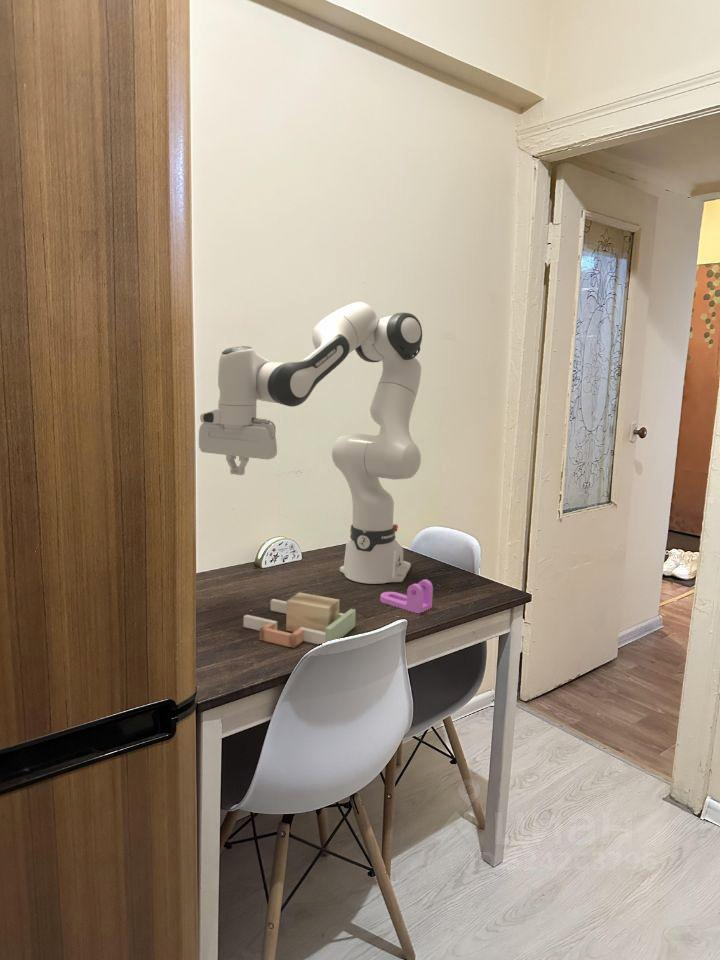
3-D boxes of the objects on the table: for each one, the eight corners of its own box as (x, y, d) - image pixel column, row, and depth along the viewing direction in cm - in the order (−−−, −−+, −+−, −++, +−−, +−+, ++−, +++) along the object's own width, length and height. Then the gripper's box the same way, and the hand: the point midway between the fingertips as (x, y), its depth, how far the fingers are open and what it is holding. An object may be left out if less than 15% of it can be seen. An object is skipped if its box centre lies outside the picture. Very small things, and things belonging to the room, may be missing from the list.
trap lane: (281, 603, 166) (282, 587, 165) (362, 620, 157) (363, 604, 156) (232, 633, 148) (232, 615, 147) (320, 654, 139) (321, 636, 138)
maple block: (298, 621, 156) (299, 592, 154) (338, 629, 152) (339, 599, 151) (286, 630, 150) (286, 600, 149) (327, 639, 146) (328, 608, 145)
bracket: (431, 608, 166) (433, 581, 165) (418, 614, 162) (420, 587, 161) (389, 595, 174) (390, 569, 173) (375, 600, 170) (376, 574, 169)
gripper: (282, 418, 159) (281, 476, 161) (210, 412, 167) (211, 468, 170) (267, 420, 153) (267, 481, 156) (194, 414, 161) (195, 471, 164)
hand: (237, 474), depth 163 cm, fingers closed
